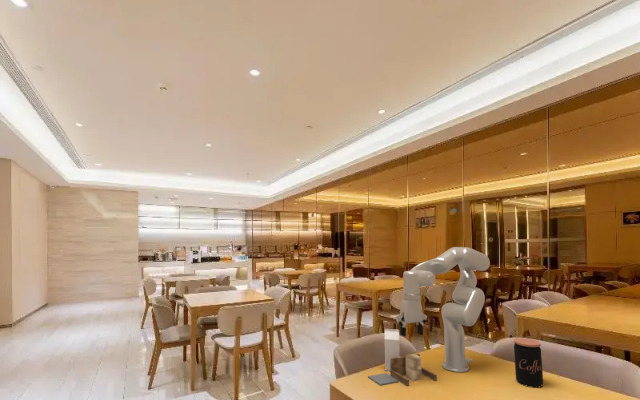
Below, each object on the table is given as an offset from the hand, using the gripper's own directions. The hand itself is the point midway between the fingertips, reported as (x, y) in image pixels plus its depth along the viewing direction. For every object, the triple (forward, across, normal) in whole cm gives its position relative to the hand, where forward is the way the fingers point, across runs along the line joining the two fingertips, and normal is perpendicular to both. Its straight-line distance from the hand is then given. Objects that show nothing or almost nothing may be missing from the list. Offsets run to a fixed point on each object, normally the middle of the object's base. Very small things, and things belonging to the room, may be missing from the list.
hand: (411, 335), depth 163 cm
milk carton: (+20, +1, -14) cm, 24 cm away
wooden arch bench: (+19, -1, 0) cm, 19 cm away
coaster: (+20, +13, -4) cm, 24 cm away
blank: (+20, -1, 0) cm, 20 cm away
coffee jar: (+19, -46, +24) cm, 55 cm away
